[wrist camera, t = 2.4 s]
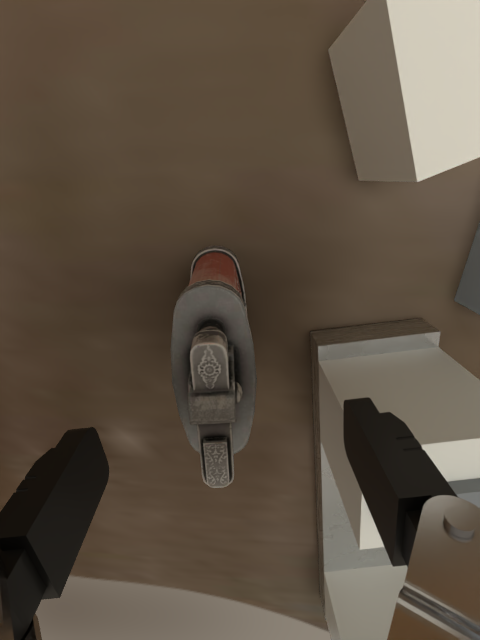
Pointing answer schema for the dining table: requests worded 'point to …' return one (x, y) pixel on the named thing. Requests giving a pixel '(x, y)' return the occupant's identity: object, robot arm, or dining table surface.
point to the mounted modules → (435, 438)
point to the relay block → (410, 87)
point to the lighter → (214, 363)
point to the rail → (332, 518)
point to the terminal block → (471, 278)
